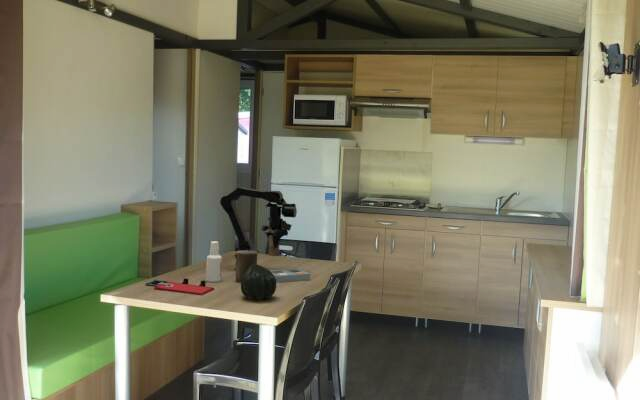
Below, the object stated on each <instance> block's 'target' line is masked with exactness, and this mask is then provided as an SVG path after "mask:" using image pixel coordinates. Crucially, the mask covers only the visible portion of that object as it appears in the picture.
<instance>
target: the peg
mask: <svg viewBox="0 0 640 400" xmlns="http://www.w3.org/2000/svg"><path fill="white" fill-rule="evenodd" d="M280 242H281V241H279V244H278V246H277V248H274V244H273V240H272V236H271V235H269V240H268V253H267V254H268V256H270V257H280Z"/></svg>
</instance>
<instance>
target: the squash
mask: <svg viewBox="0 0 640 400" xmlns="http://www.w3.org/2000/svg"><path fill="white" fill-rule="evenodd" d="M270 270H271V269H269V268H267V267H264V266H262V265H260V264H258V263H257V264H252V265H251V266H250V268H249V269H248V270H247V272H246V273H245V274H244V276H243V279H242V281H241V282H240V290H241V293H242V295H243V296H244V297H245V298H247V299H250V300H252V301H256V300H257V301H263V300H264V299H267V298H270V297H272V296H274V295H275V293H276V290H277V283H276V278H275V276H274V275H273V273H272V272H271V271H270Z"/></svg>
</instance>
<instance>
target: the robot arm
mask: <svg viewBox="0 0 640 400" xmlns="http://www.w3.org/2000/svg"><path fill="white" fill-rule="evenodd" d="M242 196H245V197H249V198H257V199H263V200H265V201H267V202H268V203H267V204H266V205H265V208H269V214H268V215H269V217H267V220H268V224H263V225H262V226H261V231H263V232H264V234H265V236H266V238H267V240H268V241H269V235H271V236H272V240H273V244H274V248H277V246H278V244H279V241H280V240H281V238H283V237H284V236H285V237H286V236H289V232H290V231H291V228H292V224H289V223H287V221H286V220H284V219H283V218H282V216H283V217H285V218H294V219H295V218H296V217H297V213H298V211H297V205H296V203H288V202H287V201H286V200H285V199H284V195H283V193H282V191H280V190H261V189H255V188H254V189H253V188H245V187H243V186H240V187H239V186H238V187H237V188H235V189H234V190H233V191H231V192H230V193H229V194H227V195H223V196H222V197H221V198H220V200H219V203H220V206H221V207H222V208H223V210H224V211H225V213H227V215H228V218H229V220H230V223H231V225H232V228H233V230H234V234H235V235H236V237H237V238H236V239H237V241H238V251H243V250H246V251H247V250H248V251H255V246H256V245H255V244H254V241H253V239H252V238H251V239H249V237H248V236H247V234H246V232H245V229H244V226H243V224H242V222H241V219H240V217H239V214H238V211H237V210H238V209H237V202H236V201H238V200H239V199H240V198H241V197H242ZM280 242H281V241H280ZM279 245H280V244H279ZM234 258H235V259H236V258H237V253H235V254H234ZM233 270H235V271H236V267H235V268H234V269H233Z"/></svg>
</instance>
